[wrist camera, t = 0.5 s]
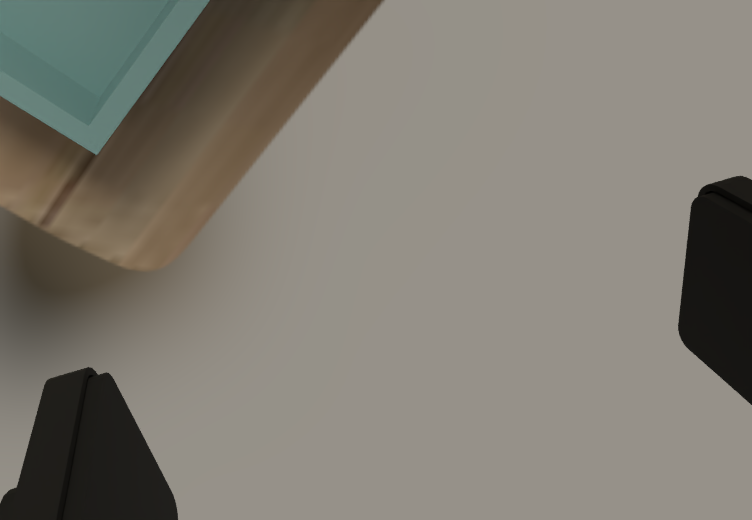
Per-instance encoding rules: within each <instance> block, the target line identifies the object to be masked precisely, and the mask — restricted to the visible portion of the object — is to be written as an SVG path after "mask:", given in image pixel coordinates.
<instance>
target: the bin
mask: <svg viewBox="0 0 752 520" xmlns="http://www.w3.org/2000/svg"><path fill="white" fill-rule="evenodd" d="M209 1H210V0H0V96H1V97H3V98H4V99H6V100H8V101H9V102H11V103H13V104H14V105H16V106H17V107H19V108H21V109H22V110H24V111H26V112H27V113H29V114H30V115H32V116H34V117H35V118H37V119H39V120H40V121H42V122H43V123H45V124H47V125H48V126H50V127H52V128H53V129H55V130H57V131H58V132H60V133H61V134H63V135H65V136H66V137H68V138H70V139H71V140H73V141H74V142H76V143H78V144H79V145H81V146H83V147H84V148H86V149H87V150H89V151H91V152H92V153H94V154H96V155H97V154H98V153H99V152H100V150H101V149H102V147H103V146H104V145H105V143H106V142H107V141H108V139H109V138H110V136H111V135H112V134H113V132H114V131H115V130H116V128H117V127H118V125H119V124H120V123H121V121H122V120H123V119H124V117H125V116H126V115H127V113H128V112H129V110H130V109H131V108H132V106H133V105H134V104H135V102H136V101H137V99H138V98H139V97H140V95H141V94H142V93H143V91H144V90H145V88H146V87H147V86H148V84H149V83H150V82H151V80H152V79H153V78H154V76H155V75H156V73H157V72H158V71H159V69H160V68H161V67H162V65H163V64H164V62H165V61H166V60H167V58H168V57H169V56H170V54H171V53H172V51H173V50H174V49H175V47H176V46H177V45H178V43H179V42H180V40H181V39H182V38H183V36H184V35H185V34H186V32H187V31H188V30H189V28H190V27H191V25H192V24H193V23H194V21H195V20H196V19H197V17H198V16H199V14H200V13H201V12H202V10H203V9H204V8H205V6H206V5H207V3H208V2H209Z"/></svg>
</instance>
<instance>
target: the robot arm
mask: <svg viewBox="0 0 752 520" xmlns="http://www.w3.org/2000/svg"><path fill="white" fill-rule="evenodd" d="M678 330H679V335H680V337H681V340H682V341H683V343H684V345H685V346H686V347H687V348H688V349H689V350H690V351H691V352H693V353H694V354H695V355H696V356H697V357H698V358H699V359H700V360H702V361H703V362H704V363H705V364H706V365H707V366H708V367H709V368H711V369H712V370H713V371H714V372H715V373H716V374H717V375H718V376H720V377H721V378H722V379H723V380H724V381H725V382H726V383H728V384H729V385H730V386H731V387H732V388H733V389H734V390H736V391H737V392H738V393H739V394H740V395H741V396H742V397H743V398H744V399H746V400H747V401H748V402H749V403H750V404H751V405H752V180H751V179H749V178H747V177H743V176H736V177H732V178H729V179H725V180H722V181H718V182H715V183H712V184H708V185H706V186H704V187H703V188H702V189H701V190H700V192H699V194H698V197H697V198H695V199H694V201H693V202H692V206H691V212H690V222H689V231H688V240H687V249H686V259H685V268H684V277H683V287H682V296H681V305H680V315H679V323H678ZM0 520H178V513H177V507H176V503H175V499H174V496H173V494H172V492H171V490H170V488H169V486H168V484H167V482H166V480H165V478H164V476H163V474H162V472H161V470H160V468H159V466H158V464H157V462H156V460H155V458H154V457H153V455H152V453H151V451H150V449H149V447H148V445H147V443H146V441H145V439H144V437H143V435H142V433H141V431H140V429H139V427H138V426H137V424H136V422H135V420H134V418H133V416H132V414H131V412H130V410H129V408H128V406H127V404H126V402H125V400H124V398H123V397H122V395H121V393H120V391H119V389H118V387H117V385H116V383H115V381H114V379H113V378H112V376H111V375H110V374H109V373H103V374H100V375H98V374H97V373H96V371H94V370H93V369H92V368H89V367H88V368H84V369H81V370H77V371H74V372H71V373H67V374H64V375H60V376H57V377H54V378H50V379H49V380H47V381H46V383H45V385H44V389H43V392H42V396H41V400H40V404H39V408H38V411H37V415H36V419H35V422H34V426H33V430H32V434H31V437H30V441H29V445H28V448H27V452H26V456H25V459H24V463H23V467H22V470H21V474H20V478H19V482H18V485H17V488H14V489H11V490H9V491H8V492H7V493H6V494H5V495H4V496H3V499H2V501H1V503H0Z"/></svg>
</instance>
